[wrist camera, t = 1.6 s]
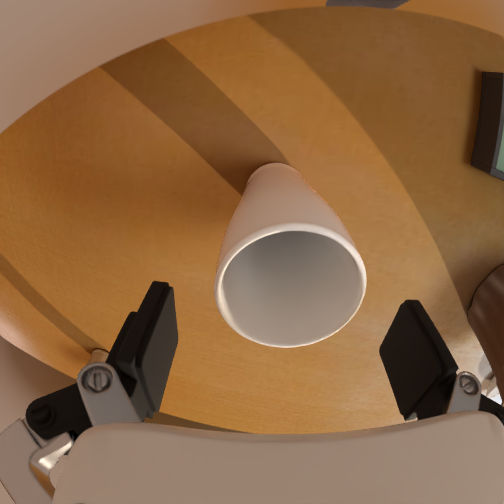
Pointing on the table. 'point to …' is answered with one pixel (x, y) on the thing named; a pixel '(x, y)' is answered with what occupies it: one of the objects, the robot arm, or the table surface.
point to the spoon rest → (492, 388)
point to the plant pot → (491, 322)
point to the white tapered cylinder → (287, 263)
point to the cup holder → (490, 127)
